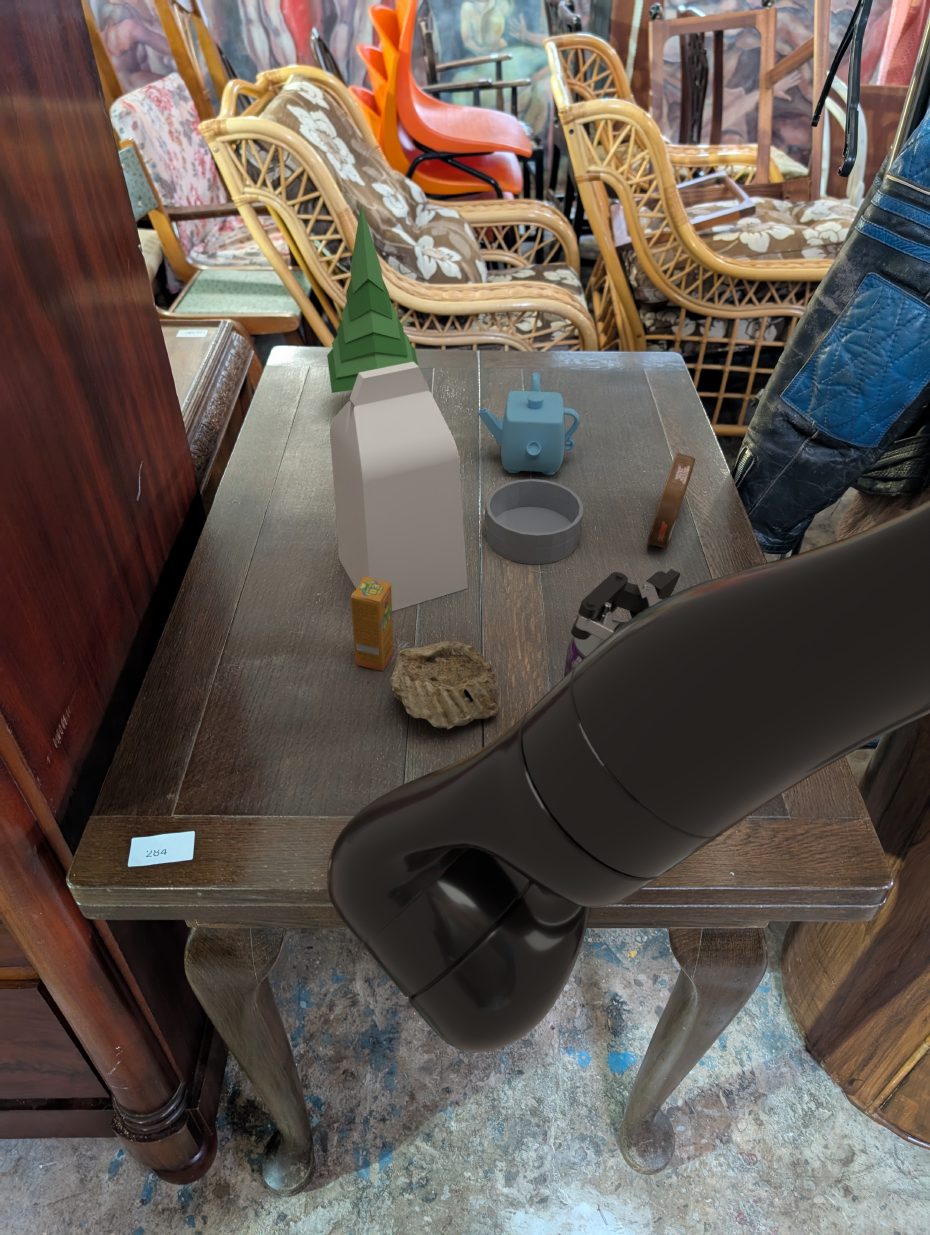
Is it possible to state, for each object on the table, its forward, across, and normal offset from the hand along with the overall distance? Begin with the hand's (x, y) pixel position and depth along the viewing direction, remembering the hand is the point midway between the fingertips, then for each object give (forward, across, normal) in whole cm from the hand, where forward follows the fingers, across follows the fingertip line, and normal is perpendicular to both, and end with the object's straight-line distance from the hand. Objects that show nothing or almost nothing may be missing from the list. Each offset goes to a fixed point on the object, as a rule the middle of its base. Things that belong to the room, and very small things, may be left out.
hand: (725, 609), depth 56 cm
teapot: (+46, +40, +18) cm, 64 cm away
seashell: (+3, +21, +26) cm, 34 cm away
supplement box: (+3, +31, +27) cm, 41 cm away
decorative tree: (+44, +67, +22) cm, 83 cm away
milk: (+16, +38, +25) cm, 48 cm away
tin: (+43, +17, +17) cm, 49 cm away
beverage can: (+9, +8, +23) cm, 26 cm away
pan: (+31, +30, +20) cm, 48 cm away
